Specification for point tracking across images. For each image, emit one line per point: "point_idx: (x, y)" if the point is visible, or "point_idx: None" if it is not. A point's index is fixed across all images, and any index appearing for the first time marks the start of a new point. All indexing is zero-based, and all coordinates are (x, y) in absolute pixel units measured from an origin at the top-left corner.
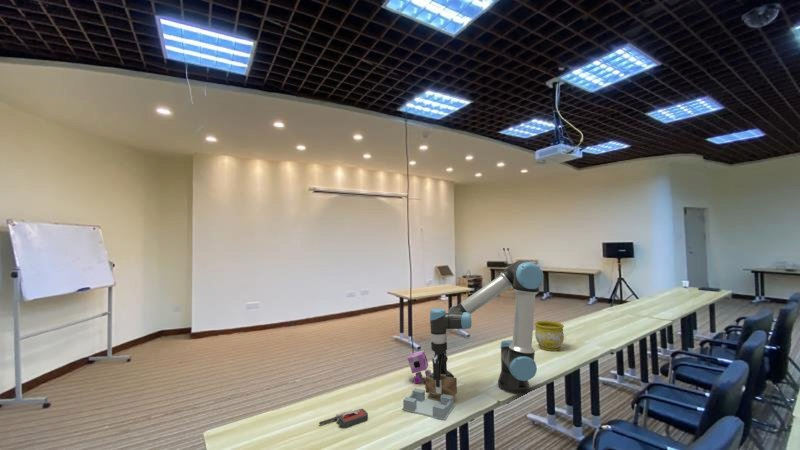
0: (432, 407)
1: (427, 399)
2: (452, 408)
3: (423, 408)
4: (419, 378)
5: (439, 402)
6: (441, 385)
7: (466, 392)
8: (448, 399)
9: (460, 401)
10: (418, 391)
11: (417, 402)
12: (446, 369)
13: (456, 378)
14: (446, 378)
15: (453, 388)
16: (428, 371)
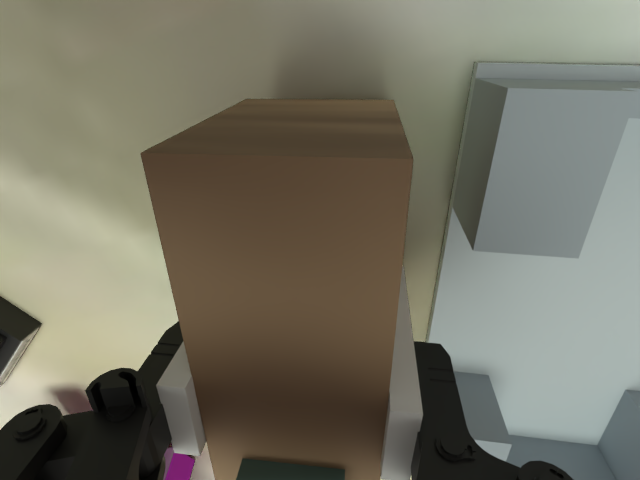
0: (597, 274)
1: None
2: (563, 64)
3: (632, 340)
4: None
5: (463, 239)
6: None
7: (70, 24)
8: (613, 135)
9: (322, 27)
10: None
11: (518, 401)
12: (17, 440)
13: (148, 149)
14: (274, 336)
15: (400, 129)
16: None
